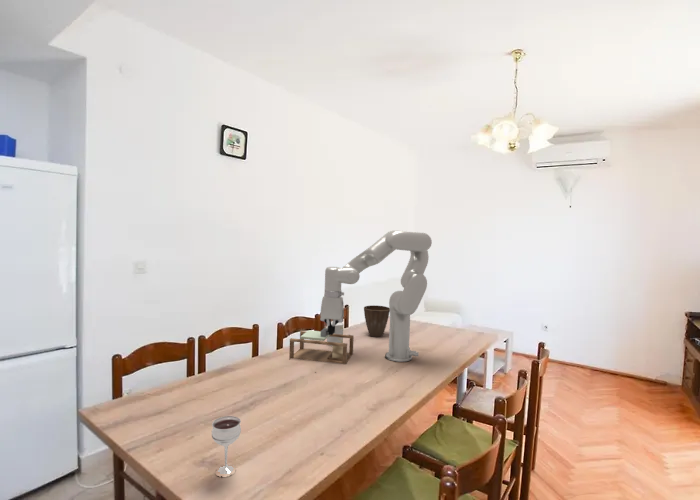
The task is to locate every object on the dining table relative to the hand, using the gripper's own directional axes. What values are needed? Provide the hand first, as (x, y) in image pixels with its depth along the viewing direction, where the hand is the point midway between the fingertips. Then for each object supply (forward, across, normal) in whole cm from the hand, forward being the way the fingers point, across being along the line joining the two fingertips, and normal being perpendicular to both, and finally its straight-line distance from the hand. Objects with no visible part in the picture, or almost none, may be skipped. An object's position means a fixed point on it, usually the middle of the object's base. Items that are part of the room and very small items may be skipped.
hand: (331, 334), depth 173 cm
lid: (+2, +7, 0) cm, 7 cm away
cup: (+12, +3, -20) cm, 23 cm away
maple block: (+10, -4, 0) cm, 11 cm away
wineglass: (+12, +3, +84) cm, 85 cm away
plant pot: (+12, -14, -48) cm, 51 cm away
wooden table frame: (+12, +4, 0) cm, 13 cm away
